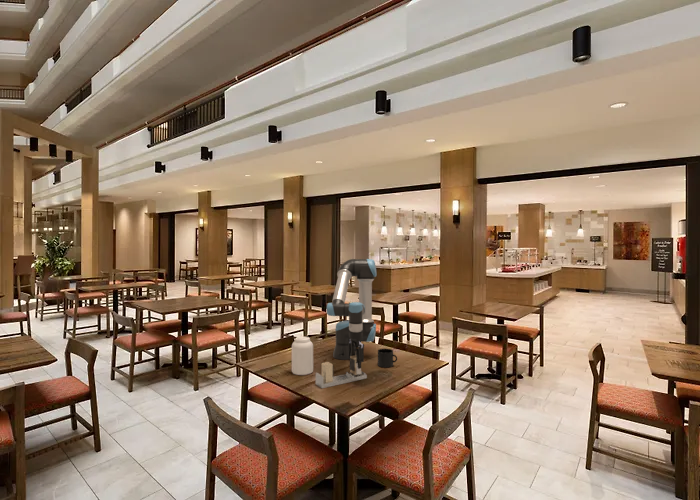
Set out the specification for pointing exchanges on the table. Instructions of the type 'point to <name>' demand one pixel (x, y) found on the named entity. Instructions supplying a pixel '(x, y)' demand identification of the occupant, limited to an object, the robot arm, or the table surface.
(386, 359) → the mug
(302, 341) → the white jar
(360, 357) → the robot arm
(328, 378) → the rail
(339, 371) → the table surface
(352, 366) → the beige upright block
